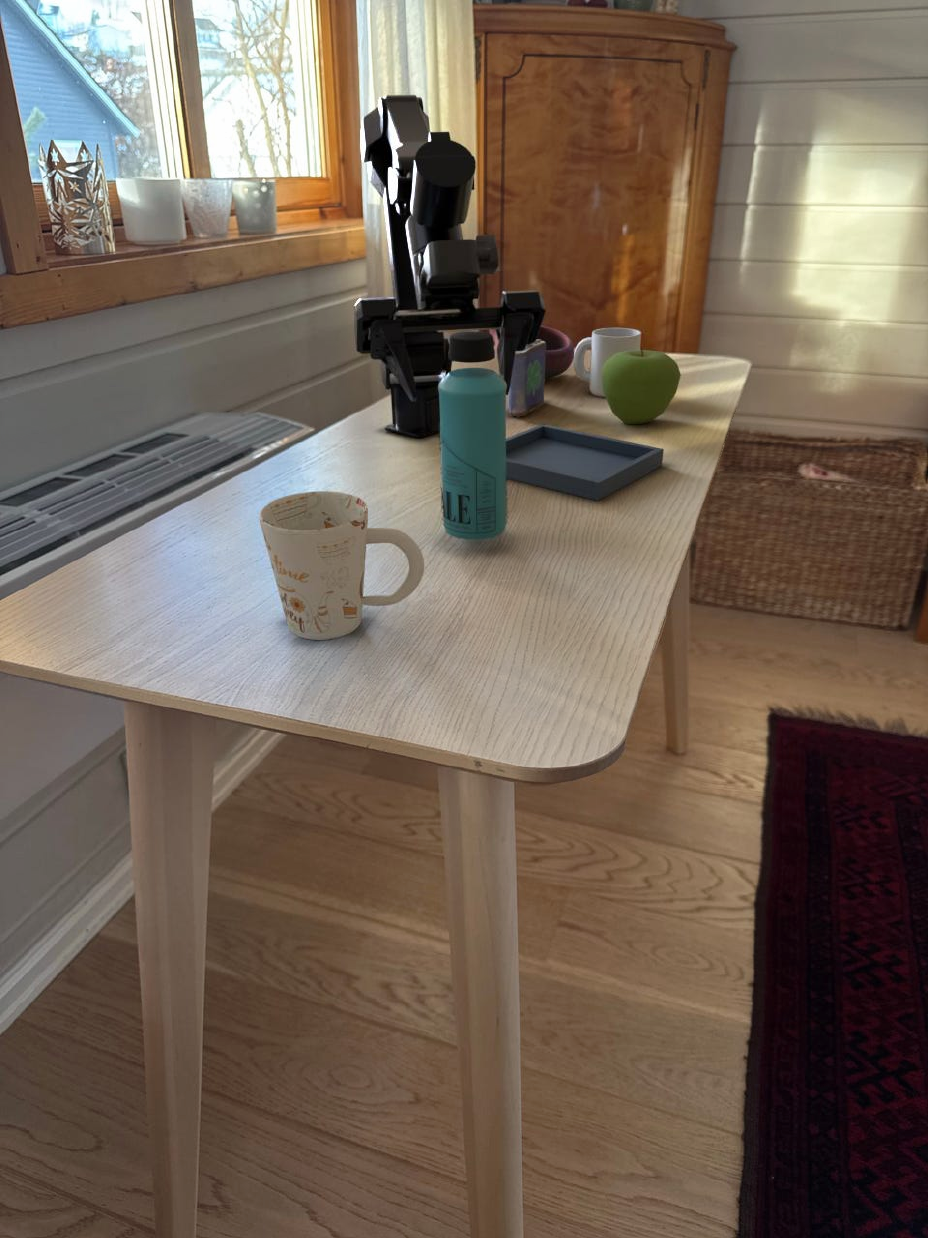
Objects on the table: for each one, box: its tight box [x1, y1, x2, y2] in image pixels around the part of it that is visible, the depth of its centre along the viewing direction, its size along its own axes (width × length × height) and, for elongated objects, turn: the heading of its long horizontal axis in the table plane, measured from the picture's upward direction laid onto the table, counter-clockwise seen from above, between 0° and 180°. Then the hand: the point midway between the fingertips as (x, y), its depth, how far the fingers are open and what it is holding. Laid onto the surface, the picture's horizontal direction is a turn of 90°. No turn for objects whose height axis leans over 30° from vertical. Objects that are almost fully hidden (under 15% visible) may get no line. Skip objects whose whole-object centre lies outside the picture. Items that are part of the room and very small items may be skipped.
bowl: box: [489, 325, 575, 380], centre depth 145 cm, size 16×13×8 cm
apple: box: [601, 347, 682, 425], centre depth 122 cm, size 11×10×10 cm
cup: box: [573, 327, 642, 398], centre depth 136 cm, size 7×10×9 cm
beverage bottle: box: [438, 330, 509, 541], centre depth 84 cm, size 6×7×20 cm
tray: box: [506, 423, 665, 502], centre depth 107 cm, size 18×15×2 cm
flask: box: [507, 339, 546, 418], centre depth 128 cm, size 9×3×11 cm, turn 151°
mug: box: [258, 490, 425, 641], centre depth 72 cm, size 8×13×10 cm, turn 95°
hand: (460, 395), depth 87 cm, fingers open, 9 cm apart
